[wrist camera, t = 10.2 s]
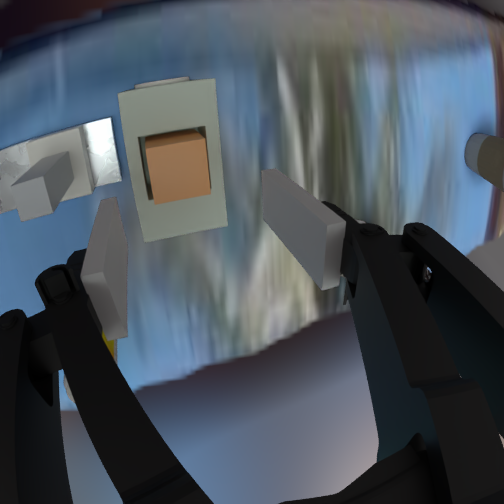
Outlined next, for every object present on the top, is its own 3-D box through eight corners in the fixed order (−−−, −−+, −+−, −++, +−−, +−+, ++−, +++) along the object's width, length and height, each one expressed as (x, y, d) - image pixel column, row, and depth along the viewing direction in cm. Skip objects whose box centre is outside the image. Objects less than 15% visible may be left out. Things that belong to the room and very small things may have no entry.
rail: (-47, 226, 28) (-52, 231, 26) (-63, 177, 24) (-68, 180, 23) (122, 177, 34) (121, 181, 32) (111, 116, 30) (110, 117, 29)
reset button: (152, 183, 26) (154, 204, 22) (145, 137, 24) (145, 149, 20) (199, 174, 27) (210, 194, 23) (194, 128, 25) (205, 138, 21)
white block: (143, 194, 35) (144, 242, 25) (126, 86, 29) (117, 88, 19) (202, 182, 37) (227, 226, 27) (192, 76, 30) (214, 73, 21)
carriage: (46, 200, 30) (14, 248, 21) (31, 139, 26) (-12, 167, 17) (94, 187, 31) (77, 232, 22) (82, 124, 28) (55, 144, 19)
